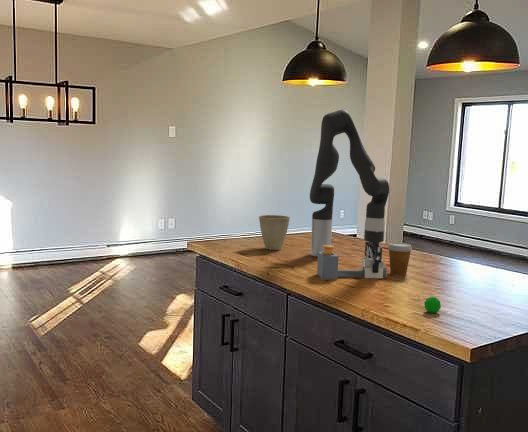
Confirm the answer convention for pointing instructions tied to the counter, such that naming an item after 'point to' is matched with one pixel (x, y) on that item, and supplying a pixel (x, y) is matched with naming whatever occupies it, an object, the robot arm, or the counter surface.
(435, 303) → the polyhedron
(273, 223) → the plant pot
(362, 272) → the rail
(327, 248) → the plunger
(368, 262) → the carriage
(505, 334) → the counter surface
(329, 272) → the grey hollow block
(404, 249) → the disposable coffee cup
